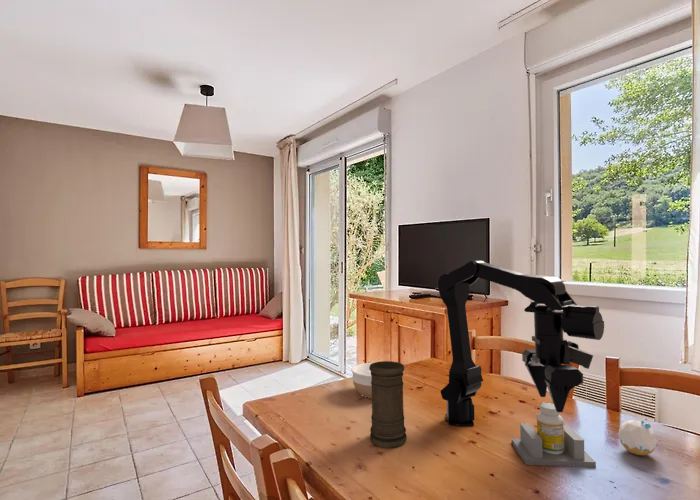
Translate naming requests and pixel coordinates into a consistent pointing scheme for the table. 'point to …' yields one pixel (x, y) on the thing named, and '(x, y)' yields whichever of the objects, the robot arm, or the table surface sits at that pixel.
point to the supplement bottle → (550, 429)
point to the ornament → (637, 437)
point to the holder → (534, 455)
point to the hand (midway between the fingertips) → (550, 404)
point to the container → (387, 404)
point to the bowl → (363, 379)
